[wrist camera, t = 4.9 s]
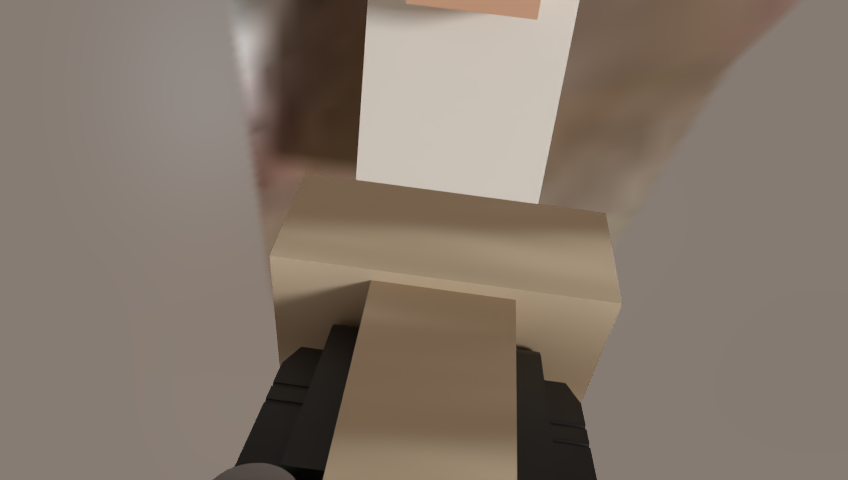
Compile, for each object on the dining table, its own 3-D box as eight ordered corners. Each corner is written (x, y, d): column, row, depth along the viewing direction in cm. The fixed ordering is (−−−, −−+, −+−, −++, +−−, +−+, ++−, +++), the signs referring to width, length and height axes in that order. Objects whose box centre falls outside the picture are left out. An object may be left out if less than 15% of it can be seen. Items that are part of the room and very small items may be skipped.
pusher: (305, 173, 13) (93, 656, 6) (605, 213, 13) (705, 748, 6) (309, 280, 15) (152, 734, 8) (569, 316, 15) (616, 806, 8)
